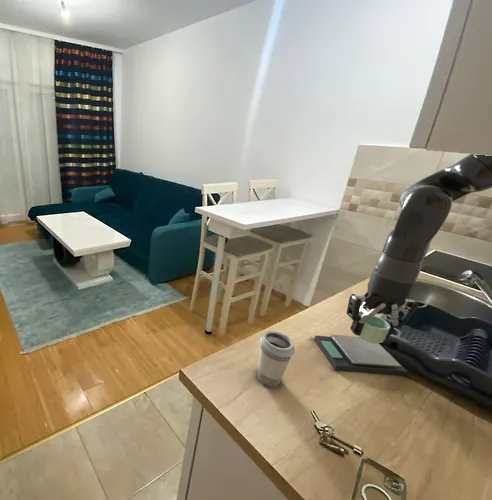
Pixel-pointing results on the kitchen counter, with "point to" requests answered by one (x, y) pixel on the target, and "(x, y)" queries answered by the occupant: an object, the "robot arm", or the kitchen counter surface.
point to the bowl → (374, 330)
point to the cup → (274, 357)
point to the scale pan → (364, 351)
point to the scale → (343, 364)
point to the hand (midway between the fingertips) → (369, 334)
